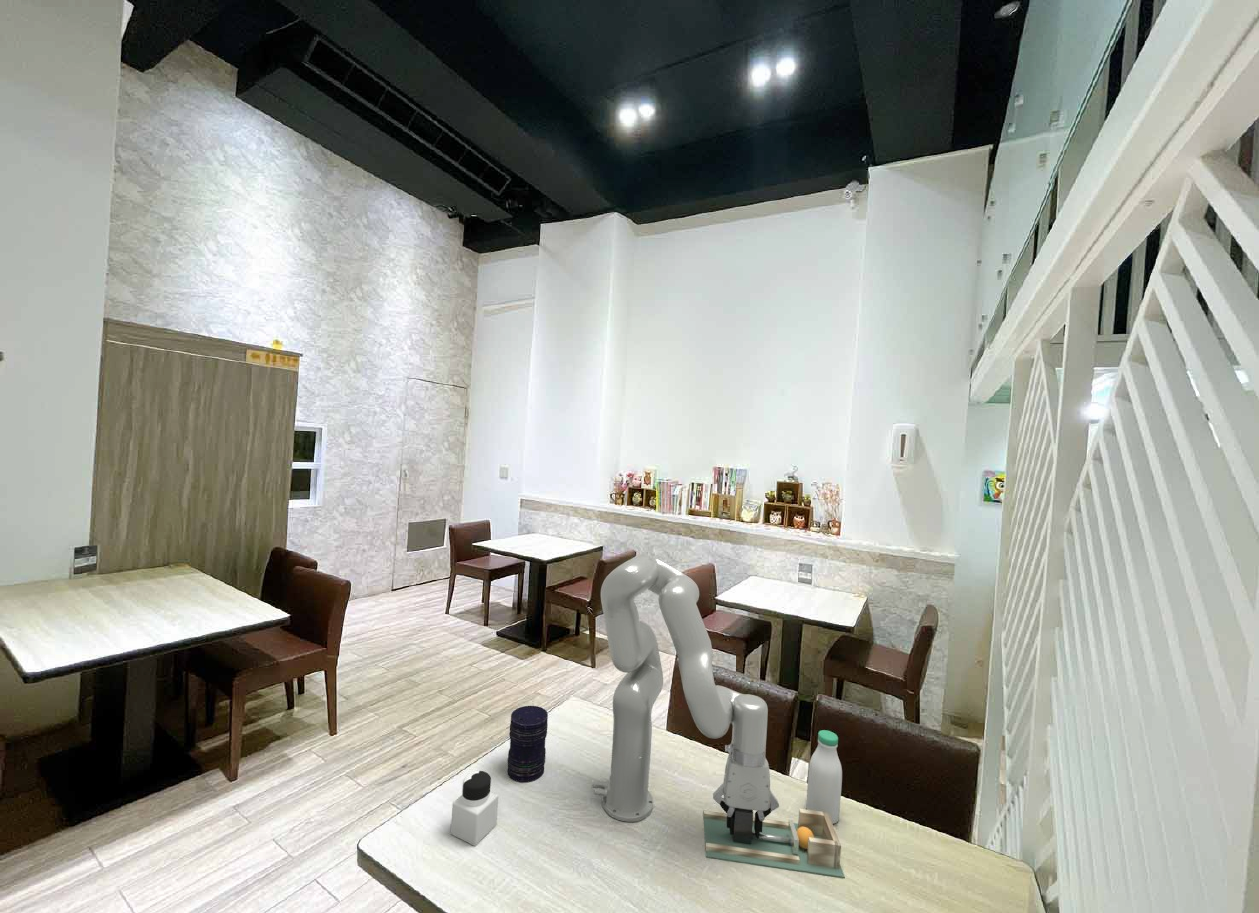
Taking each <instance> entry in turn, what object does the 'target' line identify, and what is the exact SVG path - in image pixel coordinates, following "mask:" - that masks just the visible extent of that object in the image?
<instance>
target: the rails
mask: <svg viewBox="0 0 1259 913" xmlns="http://www.w3.org/2000/svg"><path fill="white" fill-rule="evenodd" d="M710 811H711V810H705V811H704V816H703V819H704V818H709V819H716V820H723V821H727V813H726V814H724V812H719V813H717V811H712V812H710ZM754 821H755V817H754V818H753V825H754ZM788 822H789V821H783V822H781V821H780V820H776V821H774V819H769V820H767V818H765V819H764V821H763V824H762V826H765V827H772V828H780V829H787V830H788ZM706 851H711V852H718V853H725V854H732V855H738V856H745V857H752V858H758V859H765V860H772V861H778V862H785V863H792V864H799V862H800V860H799V856H793V855H786V854H779V853H773V852H766V851H759V850H752V849H746V848H739V847H732V846H725V845H718V844H712V843H706V850H705V852H706Z"/></svg>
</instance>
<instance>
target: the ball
mask: <svg viewBox="0 0 1259 913" xmlns="http://www.w3.org/2000/svg"><path fill="white" fill-rule="evenodd" d="M796 832H797V835H798V839H799V845H800V846H801V847H802V848H805V849H808V839H809V837H811V838H814V835H813V833H812V831H811V830H810V829H808V828H807V827H800V828H798V829H797V831H796Z"/></svg>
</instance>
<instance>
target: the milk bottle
mask: <svg viewBox="0 0 1259 913" xmlns="http://www.w3.org/2000/svg"><path fill="white" fill-rule="evenodd" d="M838 744H839V737H838V735H837V733H834V732H832V731H831V730H825V729H823V730H819V731H818V733H817V747H816V748H815V751H814V752H813V754H812V755H811V757H810V761H809V766H808V776H807V788H806V789H807V790H806V800H805V802H806V803H805V810H813V811H820V812H827V813H828V814H829V817H830V819H831V822H832V824H833V825H834V824H837V823H838V821H839V819H840V812H841V811H840V810H841V796H842V787H843V786H842V785H843V784H842V783H843V769H842V763H841V761H840V759H839V756H838V751H837V748H838Z"/></svg>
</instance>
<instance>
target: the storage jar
mask: <svg viewBox="0 0 1259 913" xmlns="http://www.w3.org/2000/svg"><path fill="white" fill-rule="evenodd" d="M548 718H549V713H548V711H547V710H546V709H545V708H543V707H541V706H537V705H523V706H520V707H517V708H516V709H514V710H512V712H511V714H510V723H509V734H508V735H509V749H508V751H507V752H508V754H507V776H508V778H509V779H510V780H512V781H513V782H517V783H521V784H524V783H525V784H526V783H533V782H535V781H537V780H539V779H540V778H541V777H542V776H543V775H544V773H545V764H546V757H547V756H546V754H547V752H546V737H547V735H548V724H549V723H548Z"/></svg>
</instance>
